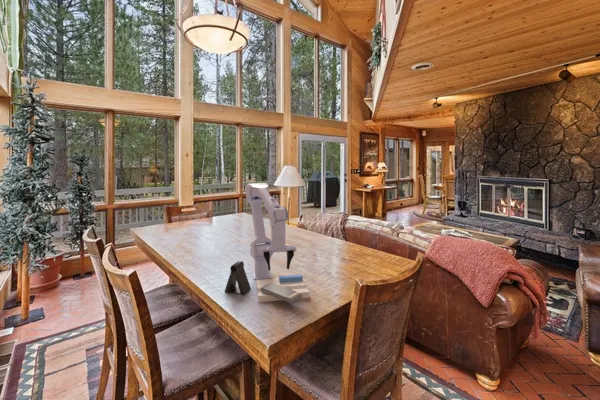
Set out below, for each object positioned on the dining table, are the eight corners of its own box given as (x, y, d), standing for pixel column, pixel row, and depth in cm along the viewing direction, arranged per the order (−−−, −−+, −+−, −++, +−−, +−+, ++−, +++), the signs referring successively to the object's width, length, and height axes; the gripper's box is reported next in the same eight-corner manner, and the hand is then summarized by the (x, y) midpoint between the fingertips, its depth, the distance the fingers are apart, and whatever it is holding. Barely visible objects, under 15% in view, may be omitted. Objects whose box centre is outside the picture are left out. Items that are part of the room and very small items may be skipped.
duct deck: (256, 285, 126) (256, 279, 126) (301, 281, 130) (301, 276, 130) (258, 302, 111) (258, 296, 111) (309, 297, 114) (309, 291, 114)
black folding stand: (250, 289, 123) (250, 261, 121) (244, 295, 117) (243, 266, 116) (231, 286, 125) (231, 259, 124) (224, 292, 120) (223, 264, 118)
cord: (279, 280, 125) (279, 276, 125) (301, 278, 127) (301, 274, 127) (279, 282, 123) (279, 278, 123) (302, 281, 125) (302, 276, 125)
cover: (270, 285, 119) (270, 281, 119) (301, 297, 108) (301, 293, 108) (259, 290, 114) (259, 286, 114) (291, 303, 104) (291, 298, 104)
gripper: (260, 240, 113) (261, 273, 114) (297, 238, 115) (297, 271, 117) (260, 235, 119) (260, 267, 121) (294, 234, 122) (294, 265, 124)
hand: (278, 269), depth 119 cm, fingers open, 7 cm apart
